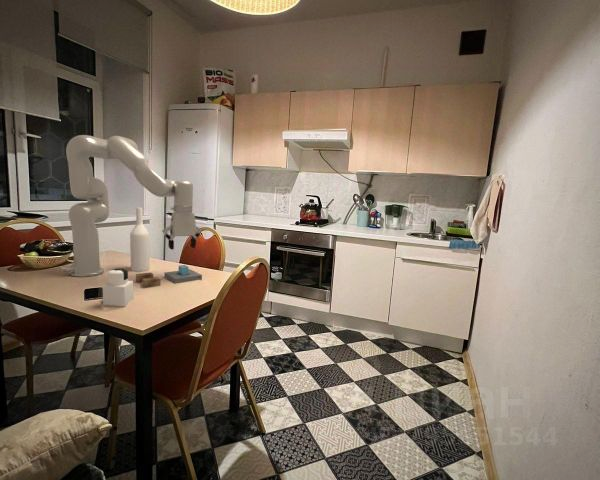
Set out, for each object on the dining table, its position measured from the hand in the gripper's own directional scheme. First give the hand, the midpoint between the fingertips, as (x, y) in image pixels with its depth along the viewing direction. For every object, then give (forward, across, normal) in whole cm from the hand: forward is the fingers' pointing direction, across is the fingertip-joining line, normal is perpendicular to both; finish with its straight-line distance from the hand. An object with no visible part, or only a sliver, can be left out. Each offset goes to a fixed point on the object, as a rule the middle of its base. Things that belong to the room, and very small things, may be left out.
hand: (182, 248), depth 140 cm
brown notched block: (+14, -14, 0) cm, 20 cm away
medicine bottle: (+15, -30, -16) cm, 37 cm away
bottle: (+15, -10, +26) cm, 31 cm away
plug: (+14, +1, 0) cm, 14 cm away
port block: (+14, 0, 0) cm, 14 cm away
